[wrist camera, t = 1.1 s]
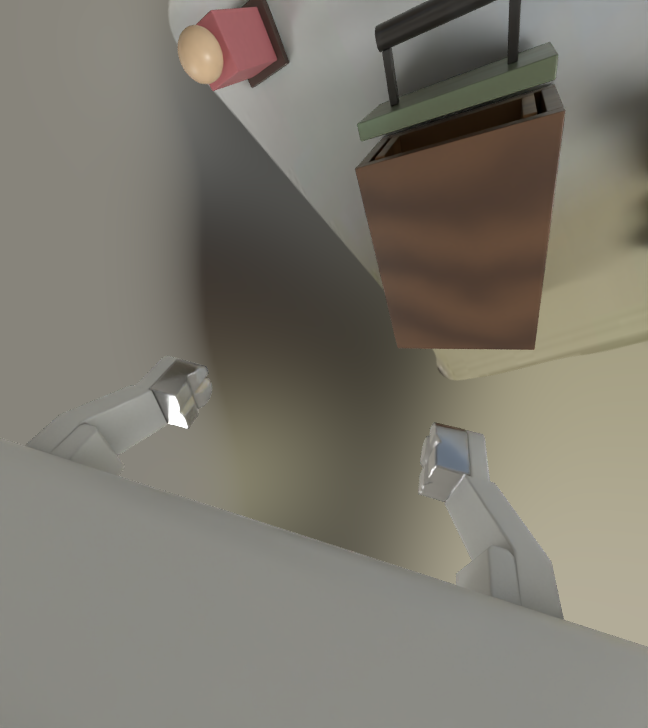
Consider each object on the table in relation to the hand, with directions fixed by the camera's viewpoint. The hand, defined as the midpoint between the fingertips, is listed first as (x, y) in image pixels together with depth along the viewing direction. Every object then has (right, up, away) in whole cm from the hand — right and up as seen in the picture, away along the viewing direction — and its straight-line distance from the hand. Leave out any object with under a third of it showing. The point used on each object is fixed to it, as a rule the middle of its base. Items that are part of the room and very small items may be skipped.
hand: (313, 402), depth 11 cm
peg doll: (-6, +31, +18) cm, 36 cm away
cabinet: (+15, +16, +23) cm, 32 cm away
